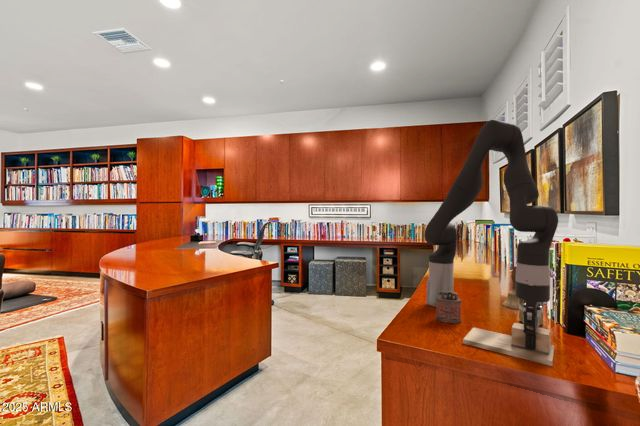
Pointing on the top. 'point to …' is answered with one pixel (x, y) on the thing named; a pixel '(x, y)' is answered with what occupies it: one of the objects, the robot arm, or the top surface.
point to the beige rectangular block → (541, 338)
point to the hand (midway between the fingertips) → (531, 345)
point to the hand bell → (512, 294)
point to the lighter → (448, 307)
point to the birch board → (504, 346)
